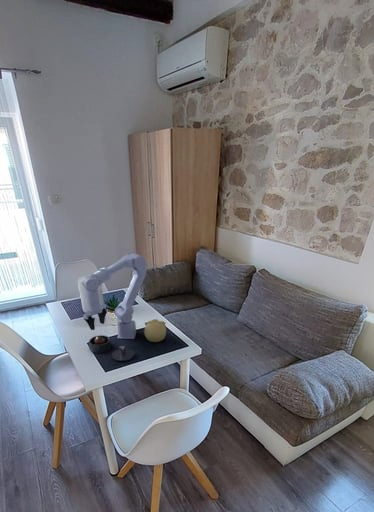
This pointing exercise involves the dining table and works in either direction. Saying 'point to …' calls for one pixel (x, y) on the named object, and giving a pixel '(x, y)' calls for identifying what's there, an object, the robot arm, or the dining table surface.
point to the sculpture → (155, 330)
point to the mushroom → (99, 341)
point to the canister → (83, 293)
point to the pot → (102, 347)
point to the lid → (122, 354)
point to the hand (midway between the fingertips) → (97, 326)
